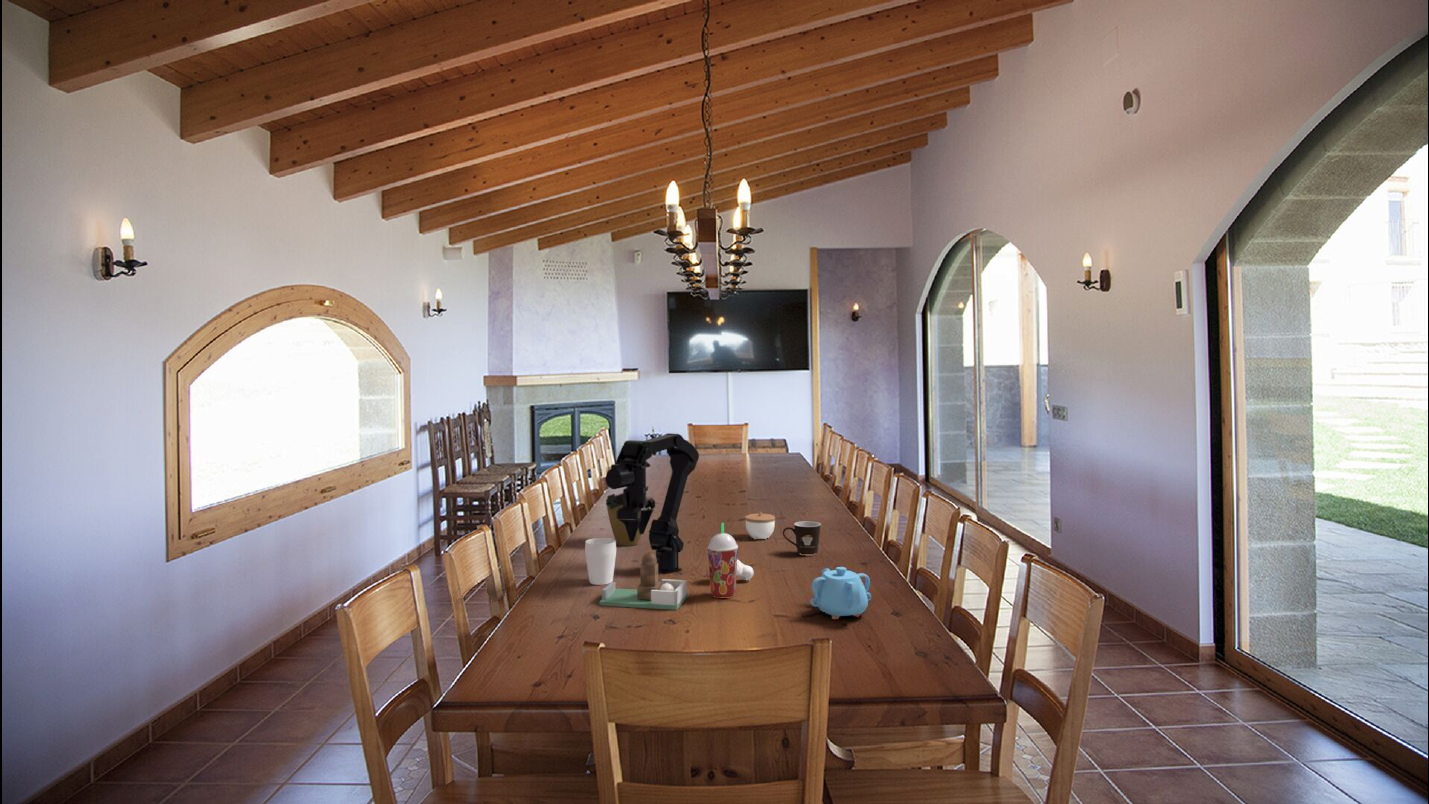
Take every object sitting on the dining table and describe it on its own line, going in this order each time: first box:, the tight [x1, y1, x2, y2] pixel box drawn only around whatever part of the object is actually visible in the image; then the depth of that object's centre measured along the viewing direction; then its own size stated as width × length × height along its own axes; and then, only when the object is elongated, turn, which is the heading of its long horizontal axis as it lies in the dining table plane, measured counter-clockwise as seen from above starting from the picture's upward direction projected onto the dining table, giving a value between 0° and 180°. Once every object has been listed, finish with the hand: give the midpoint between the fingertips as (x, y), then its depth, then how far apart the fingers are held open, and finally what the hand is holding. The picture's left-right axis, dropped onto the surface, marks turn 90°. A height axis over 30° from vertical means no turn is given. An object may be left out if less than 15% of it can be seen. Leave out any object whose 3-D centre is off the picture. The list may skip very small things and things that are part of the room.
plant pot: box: [606, 496, 649, 547], centre depth 279 cm, size 15×15×16 cm
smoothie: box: [707, 522, 739, 598], centre depth 218 cm, size 8×8×20 cm
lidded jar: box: [744, 511, 776, 540], centre depth 286 cm, size 11×11×9 cm
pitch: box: [599, 578, 689, 611], centre depth 214 cm, size 21×12×4 cm, turn 78°
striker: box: [636, 552, 662, 600], centre depth 214 cm, size 5×6×12 cm
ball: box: [659, 583, 674, 591], centre depth 213 cm, size 4×4×4 cm
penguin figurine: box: [736, 558, 755, 581], centre depth 232 cm, size 6×8×12 cm
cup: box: [584, 537, 617, 586], centre depth 232 cm, size 9×9×12 cm
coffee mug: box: [782, 520, 822, 554], centre depth 263 cm, size 12×9×10 cm
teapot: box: [809, 566, 872, 617], centre depth 203 cm, size 20×17×12 cm
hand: (636, 537), depth 231 cm, fingers open, 9 cm apart
